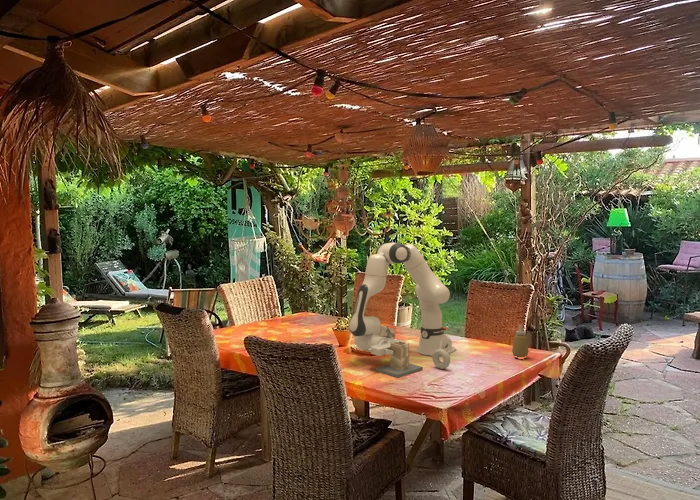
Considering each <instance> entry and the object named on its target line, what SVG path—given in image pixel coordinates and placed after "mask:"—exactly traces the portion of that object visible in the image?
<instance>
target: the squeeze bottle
mask: <svg viewBox="0 0 700 500" xmlns="http://www.w3.org/2000/svg"><path fill="white" fill-rule="evenodd" d="M511 350H512V354H513V357H514V356H517V357H525V356H527V357H528V354H529V345H528V336H527V335H526V331H525V330H524V327H523V324H519V326H518V330H516V331H515V334H514V336H513V342H512V349H511Z"/></svg>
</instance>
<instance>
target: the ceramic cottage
mask: <svg viewBox="0 0 700 500" xmlns="http://www.w3.org/2000/svg"><path fill="white" fill-rule="evenodd" d="M389 326H390V325H389V324H386V326H385V325H381V333H380V337H393V338H394V339H396V332H395V329H394V328H393V327H392V328H390V327H389Z"/></svg>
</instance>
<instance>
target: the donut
mask: <svg viewBox="0 0 700 500" xmlns="http://www.w3.org/2000/svg"><path fill="white" fill-rule="evenodd" d="M440 357H442V360H443V361H441V360H440ZM432 362H433V364H434V366H436V367H437V369H440V370H445V369H447V368H448V367H449V366H450V364H451V356H450V354H448V353H447V352H446V351H445V350H443V349H437V350H435V351H434V353H433V356H432Z"/></svg>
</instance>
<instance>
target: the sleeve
mask: <svg viewBox="0 0 700 500" xmlns="http://www.w3.org/2000/svg"><path fill="white" fill-rule="evenodd" d="M402 341H403V340H402ZM402 341H397V342H393V343H391V344H390V350H394V351H395V354H393V355H391V354H389V355H390V358H389V359H390V363H389V364H390V367H391V368H394V369H397V370H403V369H406V368H409V363H410V342H406V341H405V342H402Z"/></svg>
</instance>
